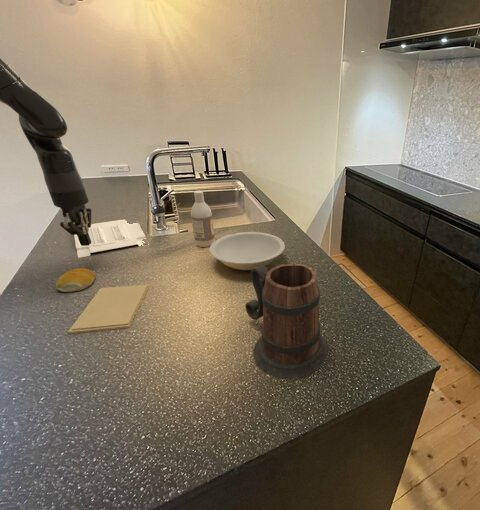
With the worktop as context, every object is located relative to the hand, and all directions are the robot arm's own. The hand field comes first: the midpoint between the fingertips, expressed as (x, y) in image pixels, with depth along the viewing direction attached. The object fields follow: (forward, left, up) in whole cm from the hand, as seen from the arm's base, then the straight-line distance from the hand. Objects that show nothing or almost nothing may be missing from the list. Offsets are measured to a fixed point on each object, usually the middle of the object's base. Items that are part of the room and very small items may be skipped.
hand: (86, 244), depth 91 cm
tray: (-3, +24, -8) cm, 26 cm away
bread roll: (0, -10, -8) cm, 13 cm away
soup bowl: (+46, -3, -8) cm, 47 cm away
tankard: (+53, -43, -8) cm, 69 cm away
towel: (+13, -23, -8) cm, 27 cm away
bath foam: (+31, +14, -8) cm, 35 cm away
